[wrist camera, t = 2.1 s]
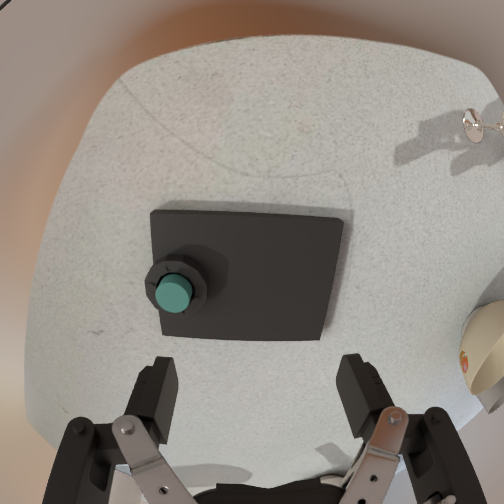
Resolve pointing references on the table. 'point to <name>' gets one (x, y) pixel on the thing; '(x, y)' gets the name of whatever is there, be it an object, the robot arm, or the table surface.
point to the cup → (493, 396)
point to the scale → (245, 273)
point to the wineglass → (479, 125)
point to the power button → (174, 293)
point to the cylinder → (124, 489)
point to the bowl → (483, 347)
